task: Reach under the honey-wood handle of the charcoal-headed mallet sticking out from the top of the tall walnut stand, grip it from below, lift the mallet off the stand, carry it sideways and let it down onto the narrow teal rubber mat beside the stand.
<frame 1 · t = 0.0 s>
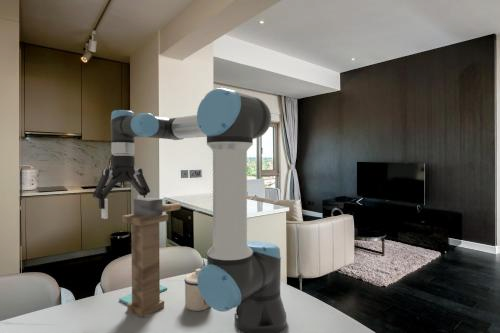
hand: (123, 215, 105), 28 cm above the table, tool pointing down, fingers open, 13 cm apart
mallet: (148, 214, 95), point 30 cm above the table, touching stand
mat: (144, 295, 105), on the table
teacup with lid: (199, 303, 99), on the table
stand: (145, 308, 95), on the table
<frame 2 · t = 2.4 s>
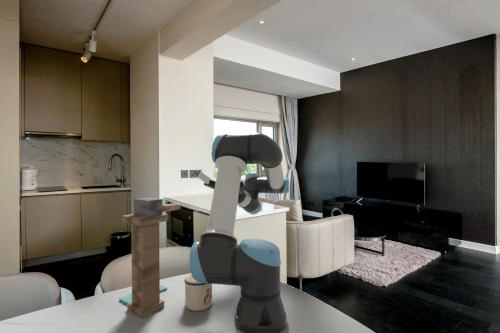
hand: (211, 175, 119), 42 cm above the table, tool pointing upward, fingers open, 13 cm apart
nothing on the table moved.
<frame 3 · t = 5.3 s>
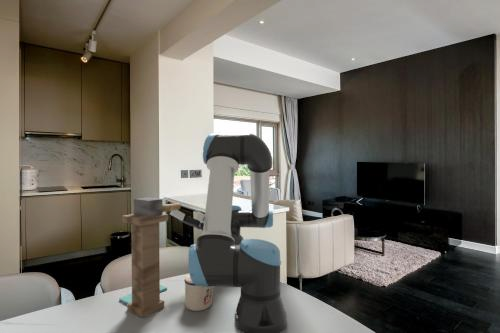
hand: (183, 212, 108), 28 cm above the table, tool pointing upward, fingers open, 13 cm apart
nothing on the table moved.
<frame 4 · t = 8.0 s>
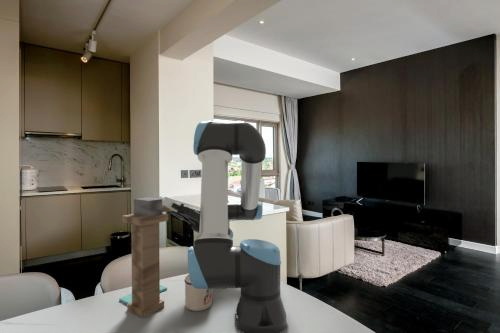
hand: (161, 200, 100), 34 cm above the table, tool pointing upward, fingers closed on mallet, 2 cm apart
mallet: (148, 214, 95), point 30 cm above the table, touching gripper
everything else where it was.
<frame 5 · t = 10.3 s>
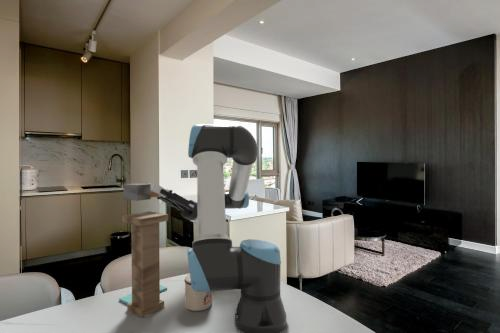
hand: (150, 186, 104), 38 cm above the table, tool pointing upward, fingers closed on mallet, 2 cm apart
mallet: (137, 199, 100), point 34 cm above the table, touching gripper
everything else where it was.
when the fingers open (26 cm above the table, at t = 12.7 s): mallet drops 21 cm, resting on mat.
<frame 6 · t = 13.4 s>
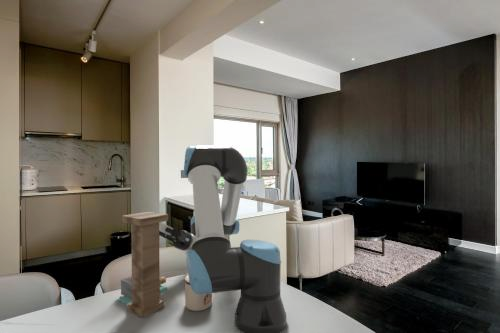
hand: (146, 223, 108), 25 cm above the table, tool pointing upward, fingers open, 13 cm apart
mallet: (134, 294, 103), point 1 cm above the table, touching mat
everything else where it was.
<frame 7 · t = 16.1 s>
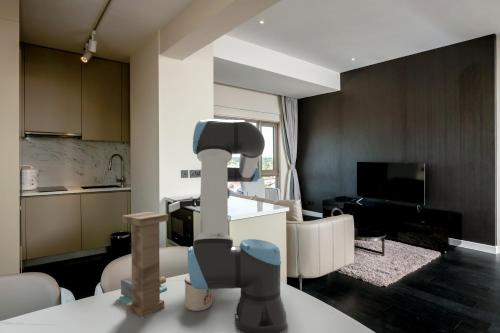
hand: (185, 210, 111), 29 cm above the table, tool horizontal, fingers open, 13 cm apart
nothing on the table moved.
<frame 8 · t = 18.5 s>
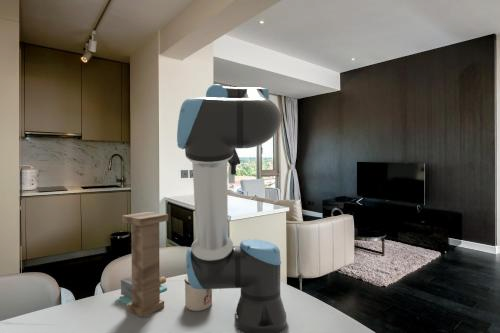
hand: (218, 182, 116), 39 cm above the table, tool pointing down, fingers open, 13 cm apart
nothing on the table moved.
at the end: mallet inside the target area (1.0 cm from its centre), point 0.8 cm above the table; mallet touching mat; the gripper is holding nothing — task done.
